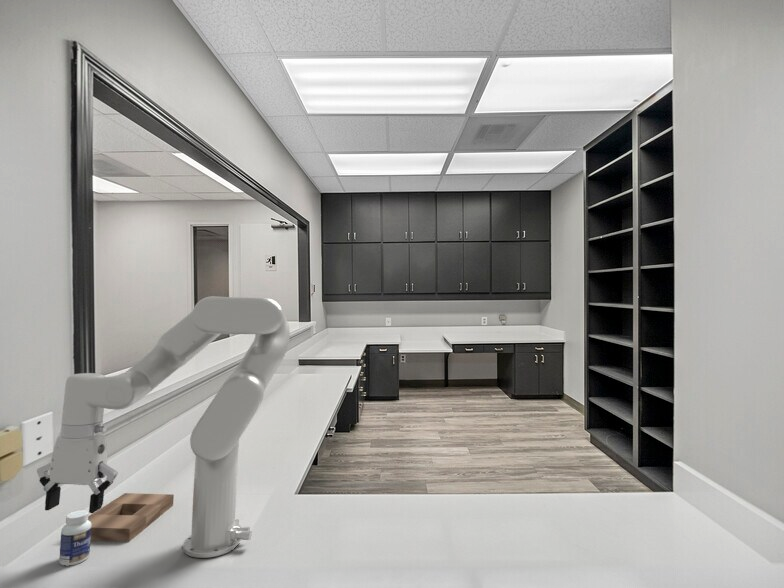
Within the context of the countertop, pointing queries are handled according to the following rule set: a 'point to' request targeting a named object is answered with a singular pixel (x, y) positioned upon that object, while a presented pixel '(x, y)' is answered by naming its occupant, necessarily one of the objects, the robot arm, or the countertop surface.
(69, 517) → the pill bottle
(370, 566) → the countertop surface
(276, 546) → the countertop surface
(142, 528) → the socket block
